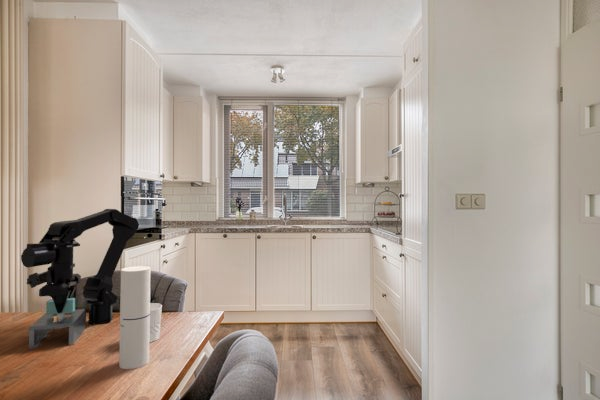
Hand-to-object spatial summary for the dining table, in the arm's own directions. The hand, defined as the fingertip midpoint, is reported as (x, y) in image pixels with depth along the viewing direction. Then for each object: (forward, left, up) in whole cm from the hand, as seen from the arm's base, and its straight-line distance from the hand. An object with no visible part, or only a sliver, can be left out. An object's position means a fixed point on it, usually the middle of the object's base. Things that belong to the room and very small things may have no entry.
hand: (61, 311), depth 107 cm
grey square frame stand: (0, +1, -8) cm, 8 cm away
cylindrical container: (-24, +26, -8) cm, 37 cm away
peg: (0, 0, -5) cm, 5 cm away
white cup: (-26, +10, -8) cm, 29 cm away
